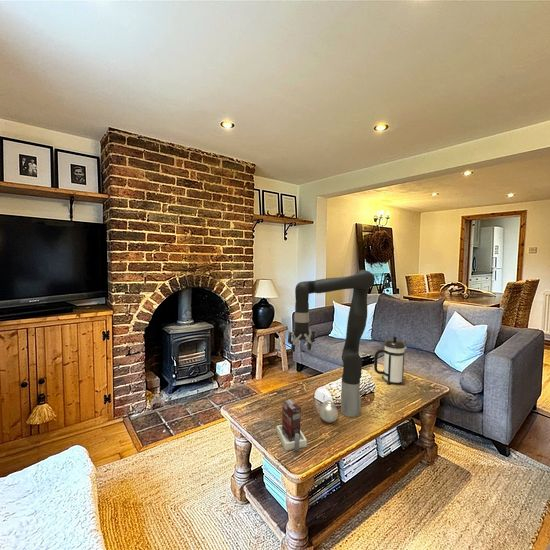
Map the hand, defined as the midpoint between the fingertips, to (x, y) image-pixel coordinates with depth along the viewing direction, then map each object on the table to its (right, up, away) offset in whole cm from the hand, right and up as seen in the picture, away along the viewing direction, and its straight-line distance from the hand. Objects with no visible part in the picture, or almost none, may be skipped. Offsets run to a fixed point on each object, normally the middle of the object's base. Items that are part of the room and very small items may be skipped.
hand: (301, 350), depth 159 cm
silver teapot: (+13, -33, -8) cm, 37 cm away
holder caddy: (-7, -34, -23) cm, 42 cm away
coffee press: (+62, -30, +38) cm, 78 cm away
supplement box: (-7, -34, -23) cm, 41 cm away
